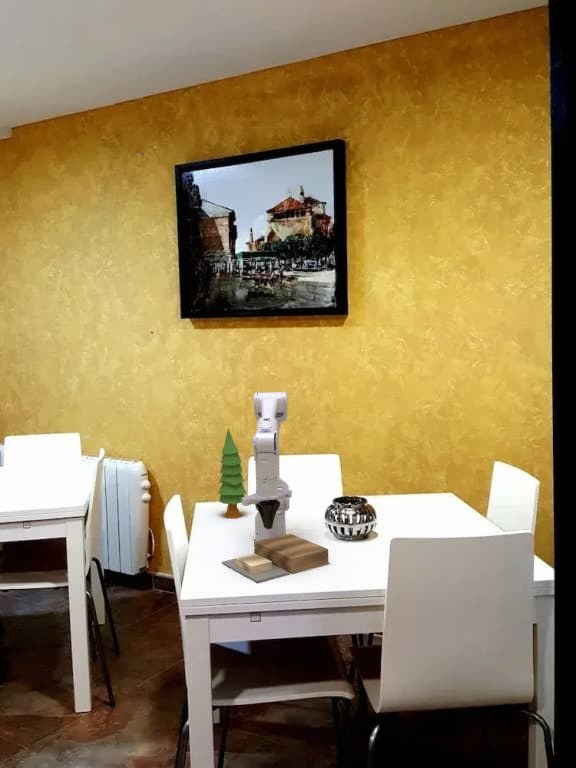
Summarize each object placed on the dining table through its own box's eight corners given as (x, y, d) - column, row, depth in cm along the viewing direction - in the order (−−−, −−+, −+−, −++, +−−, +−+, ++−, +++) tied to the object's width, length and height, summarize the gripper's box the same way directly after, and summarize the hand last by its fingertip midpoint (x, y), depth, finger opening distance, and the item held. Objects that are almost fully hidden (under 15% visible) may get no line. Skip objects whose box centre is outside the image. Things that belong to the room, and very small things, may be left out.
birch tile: (255, 553, 188) (255, 560, 189) (236, 558, 185) (236, 565, 185) (271, 561, 182) (272, 569, 182) (252, 566, 178) (252, 574, 179)
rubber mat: (221, 563, 189) (221, 561, 189) (252, 556, 194) (252, 554, 194) (257, 583, 174) (257, 581, 174) (289, 574, 179) (289, 572, 179)
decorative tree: (216, 519, 232) (213, 429, 229) (222, 511, 241) (219, 424, 238) (245, 519, 230) (242, 429, 227) (250, 511, 239) (248, 424, 237)
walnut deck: (254, 555, 194) (254, 541, 194) (290, 546, 201) (289, 533, 201) (291, 573, 180) (291, 558, 179) (328, 563, 186) (328, 549, 186)
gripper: (251, 484, 177) (252, 537, 178) (297, 476, 185) (299, 526, 186) (236, 479, 183) (238, 530, 184) (282, 471, 191) (284, 520, 192)
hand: (268, 528), depth 186 cm, fingers closed
